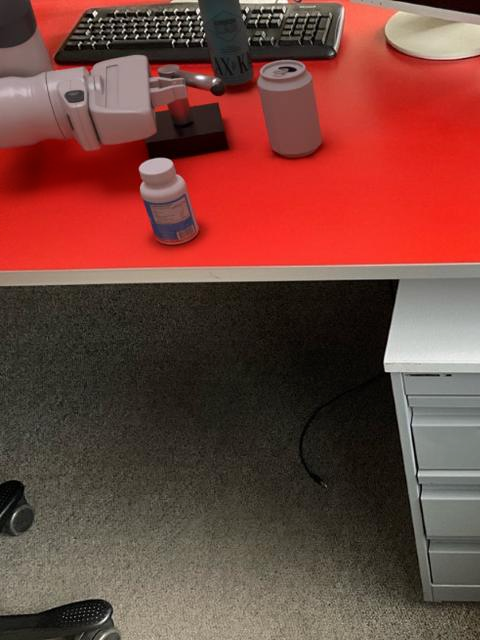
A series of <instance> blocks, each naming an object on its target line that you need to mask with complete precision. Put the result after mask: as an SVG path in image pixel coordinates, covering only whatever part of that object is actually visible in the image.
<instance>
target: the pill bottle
mask: <svg viewBox="0 0 480 640" xmlns="http://www.w3.org/2000/svg"><path fill="white" fill-rule="evenodd" d="M138 171H139V175H140V178H141V180H142V182H141V184H140V186H139V192H140V196H141V200H142V202H143V205H144V208H145V210H146V214H147V217H148V219H149V223H150V226H151V229H152V232H153V235H154V237H155V239H156V240H157V241H158V242H159V243H161V244H163V245H170V246H171V245H172V246H174V245H175V246H176V245H182V244H184V243H187V242H189V241H191V240H192V239H193V238H195V237H196V236H197V235H198V233H199V229H200V228H199V224H198V221H197V217H196V213H195V211H194V207H193V204H192V201H191V197H190V193H189V191H188V187H187V184H186V181H185V179H184V178H183V177H182V176H181V175H179V174H177V171H176V168H175V164H174V162H173V161H172V159H167V158H155V159H151V160H150V159H147V160H145V161H143V162H142V163H141V164H140V165H139V167H138Z"/></svg>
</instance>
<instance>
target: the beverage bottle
mask: <svg viewBox="0 0 480 640" xmlns="http://www.w3.org/2000/svg"><path fill="white" fill-rule="evenodd" d="M197 3H198V6H199V12H200V17H201V21H202V27H203V29H202V31H203V32H204V38H205V41H206V47H207V52H208V57H209V61H210V65H211V69H212V70H211V71H212V72H213V77H217V78H219V79H220V80H221V81H222V82H224V84H225V86H237V85H242V84H245V83H248V82H250V81H251V80H252V79H253V78H254V72H255V68H254V62H253V57H252V52H251V48H250V44H249V40H248V39H249V38H248V35H247V32H248V31H247V30H246V26H245V23H246V22H245V20H244V17H243V13H242V7H241V3H240V0H197Z"/></svg>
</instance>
